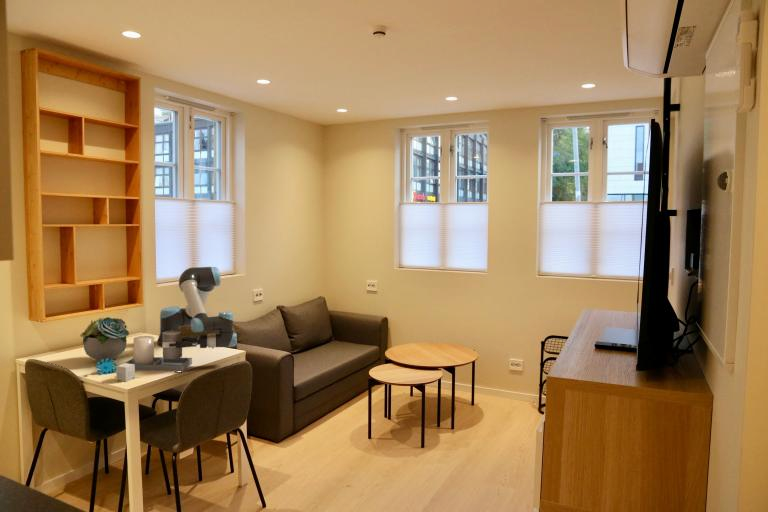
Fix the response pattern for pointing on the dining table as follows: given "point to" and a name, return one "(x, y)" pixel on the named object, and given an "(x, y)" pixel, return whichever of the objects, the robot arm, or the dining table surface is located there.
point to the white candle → (144, 350)
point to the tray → (165, 364)
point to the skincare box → (125, 372)
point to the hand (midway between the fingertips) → (163, 342)
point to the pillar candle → (172, 351)
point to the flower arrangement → (105, 338)
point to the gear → (106, 367)
